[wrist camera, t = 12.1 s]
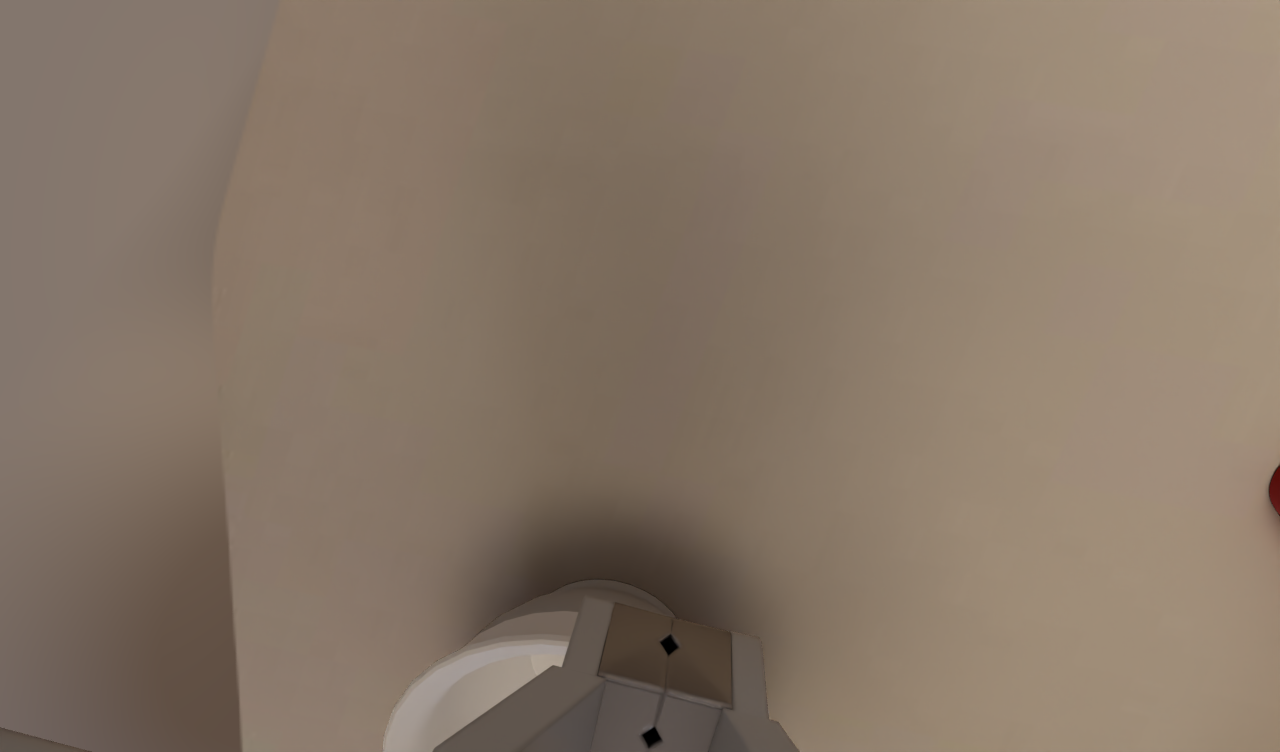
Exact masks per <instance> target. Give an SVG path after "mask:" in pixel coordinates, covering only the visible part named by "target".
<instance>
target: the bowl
mask: <svg viewBox="0 0 1280 752" xmlns="http://www.w3.org/2000/svg"><path fill="white" fill-rule="evenodd" d="M585 595H589V596H593V597H597V598H601V599H604V600H608V601H612V602H613V603H614V604H615V602H617V603H621V604H625V605H628V606H632V607H636V608H639V609H643V610H647V611H650V612H654V613H658V614H661V615H665V616H669V617H672V618H676V617H675V616H674V614H673V613H672V612H671V611H670V610H669V609H668V608H667V607H666V606H665V605H664V604H663V603H662V602H661V601H660V600H658V599H656V598H655V597H653V596H652V595H650V594H649V593H647V592H646V591H643V590H641V589H639V588H637V587H634V586H632V585H629V584H625V583H621V582H617V581H611V580H600V579H596V580H584V581H579V582H575V583H572V584H568V585H565V586H563V587H561V588H559V589H557V590H555V591H554V592H552V593H550V594H547V595H543V596H539V597H537V598H534V599H532V600H530V601H528V602H526V603H524V604H522V605H520V606H518V607H516V608H514V609H512V610H510V611H508V612H506V613H504V614H502V615H500V616H498V617H497V618H496V619H495V620H494V621H492V622H491V623H490V624H489V625H487V626H486V627H485V628H484V629H483V630H481V631H480V632H479V633H478V634H477V635H476V636H475V637H474V638H473V639H472V640H471V641H470V642H469V643H468V644H467V645H465V646H464V647H463V648H461V649H459V650H457V651H455V652H453V653H451V654H449V655H447V656H445V657H443V658H441V659H439V660H437V661H436V662H434V663H433V664H432V665H431V666H430V667H428V668H427V669H426V670H425V671H424V672H422V673H421V674H420V675H419V676H417V677H416V678H415V679H414V680H413V681H412V682H411V683H410V685H409V686H408V687H407V689H406V690H405V692H404V693H403V694H402V696H401V697H400V698H399V700H398V701H397V703H396V704H395V706H394V709H393V712H392V714H391V717H390V720H389V722H388V725H387V728H386V731H385V734H384V740H383V752H433V749H434V748H435V747H436V746H438V745H439V744H441V743H442V742H443V741H445V740H446V739H448V738H449V737H451V736H452V735H453V734H455V733H456V732H458V731H459V730H461V729H462V728H463V727H465V726H466V725H468V724H469V723H471V722H472V721H473V720H475V719H476V718H478V717H479V716H481V715H482V714H483V713H485V712H486V711H488V710H489V709H491V708H492V707H493V706H495V705H496V704H498V703H499V702H501V701H502V700H503V699H505V698H506V697H508V696H509V695H511V694H512V693H513V692H515V691H516V690H518V689H519V688H521V687H522V686H523V685H525V684H526V683H528V682H529V681H531V680H532V679H533V678H535V677H536V676H538V675H539V674H541V673H542V672H544V671H545V670H546V669H548V668H549V667H551V666H552V665H555V666H559V667H562V664H563V661H564V658H565V654H566V651H567V648H568V645H569V641H570V638H571V635H572V632H573V628H574V625H575V622H576V619H577V615H578V612H579V609H580V606H581V603H582V600H583V598H584V596H585ZM613 608H614V605H613ZM612 612H613V609H612ZM611 616H612V614H611ZM676 619H677V618H676ZM610 620H611V618H610ZM609 624H610V623H609ZM607 633H608V632H607Z"/></svg>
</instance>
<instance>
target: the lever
mask: <svg viewBox="0 0 1280 752" xmlns="http://www.w3.org/2000/svg"><path fill="white" fill-rule="evenodd" d="M1269 492H1270V499H1271V502H1272V504H1273V506H1274V508H1275V509H1276V511H1277V512H1278V514H1279V515H1280V467H1279V468H1278V469H1277V471H1276V472H1275V474H1274V476H1273V478H1272V481H1271V484H1270V491H1269Z"/></svg>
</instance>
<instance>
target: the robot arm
mask: <svg viewBox="0 0 1280 752" xmlns="http://www.w3.org/2000/svg"><path fill="white" fill-rule="evenodd" d="M613 605H614V608H613ZM612 609H613V612H612ZM611 614H612V616H611ZM610 618H611V620H610ZM609 623H610V624H609ZM607 632H608V633H607ZM0 752H90V751H87V750H83V749H79V748H76V747H72V746H68V745H64V744H60V743H57V742H53V741H49V740H46V739H42V738H38V737H34V736H31V735H27V734H23V733H20V732H15V731H12V730H8V729H5V728H1V727H0ZM433 752H800V751H799V750H798V749H797V747H796V746H795V744H794V743H793V742H792V740H791V739H790V738H789V736H788V735H787V733H786V732H785V731H784V729H783V728H782V727H781V725H780V724H779V722H777V721H773V720H769V715H768V704H767V693H766V681H765V670H764V659H763V648H762V641H761V640H760V638H759V637H756V636H752V635H747V634H743V633H738V632H734V631H726V630H722V629H718V628H714V627H710V626H706V625H701V624H697V623H693V622H689V621H685V620H681V619H676V618H672V617H669V616H665V615H661V614H658V613H654V612H650V611H647V610H643V609H639V608H636V607H632V606H628V605H625V604H621V603H617V602H615V604H614V603H613V602H612V601H608V600H604V599H601V598H597V597H593V596H589V595H585V596H584V598H583V600H582V603H581V606H580V609H579V612H578V615H577V619H576V622H575V625H574V628H573V632H572V635H571V638H570V641H569V645H568V648H567V651H566V654H565V658H564V661H563V664H562V667H559V666H555V665H552V666H551V667H549V668H548V669H546V670H545V671H544V672H542V673H541V674H539V675H538V676H536V677H535V678H533V679H532V680H531V681H529V682H528V683H526V684H525V685H523V686H522V687H521V688H519V689H518V690H516V691H515V692H513V693H512V694H511V695H509V696H508V697H506V698H505V699H503V700H502V701H501V702H499V703H498V704H496V705H495V706H493V707H492V708H491V709H489V710H488V711H486V712H485V713H483V714H482V715H481V716H479V717H478V718H476V719H475V720H473V721H472V722H471V723H469V724H468V725H466V726H465V727H463V728H462V729H461V730H459V731H458V732H456V733H455V734H453V735H452V736H451V737H449V738H448V739H446V740H445V741H443V742H442V743H441V744H439V745H438V746H436V747H435V748H434V749H433Z"/></svg>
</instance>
